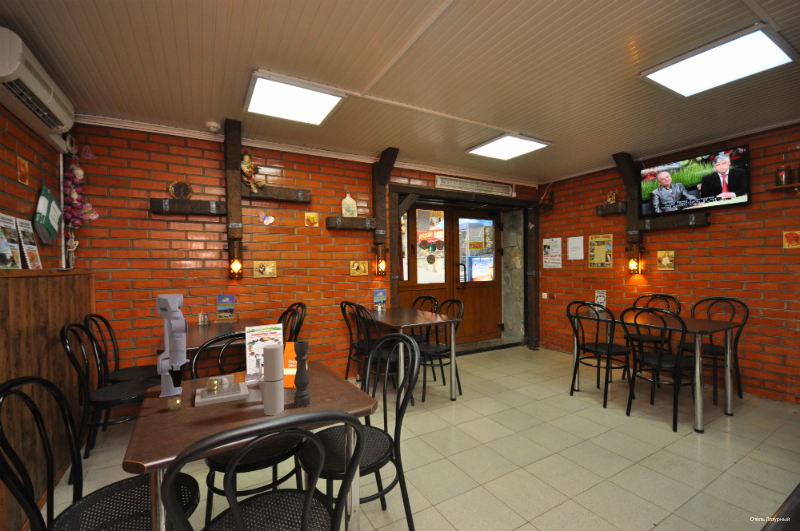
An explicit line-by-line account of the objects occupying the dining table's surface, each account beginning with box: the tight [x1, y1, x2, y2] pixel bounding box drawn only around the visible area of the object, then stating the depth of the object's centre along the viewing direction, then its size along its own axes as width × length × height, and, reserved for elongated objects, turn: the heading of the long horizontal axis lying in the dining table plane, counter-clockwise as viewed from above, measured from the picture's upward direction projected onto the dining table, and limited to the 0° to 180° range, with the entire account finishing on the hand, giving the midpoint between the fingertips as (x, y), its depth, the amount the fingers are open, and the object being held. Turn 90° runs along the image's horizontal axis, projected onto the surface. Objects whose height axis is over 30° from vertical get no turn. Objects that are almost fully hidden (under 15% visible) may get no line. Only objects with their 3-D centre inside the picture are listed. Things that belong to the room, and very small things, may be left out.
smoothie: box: [258, 376, 264, 405], centre depth 148 cm, size 6×6×14 cm
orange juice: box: [283, 341, 308, 388], centre depth 170 cm, size 8×9×20 cm
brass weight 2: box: [206, 379, 218, 392], centre depth 155 cm, size 4×4×4 cm
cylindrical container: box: [262, 343, 285, 416], centre depth 138 cm, size 7×7×25 cm
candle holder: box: [293, 340, 311, 408], centre depth 145 cm, size 6×6×25 cm
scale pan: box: [203, 381, 241, 398], centre depth 157 cm, size 12×14×1 cm
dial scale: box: [194, 374, 250, 408], centre depth 157 cm, size 18×20×6 cm
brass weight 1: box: [167, 397, 182, 413], centre depth 142 cm, size 4×4×4 cm
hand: (178, 384), depth 143 cm, fingers open, 7 cm apart
